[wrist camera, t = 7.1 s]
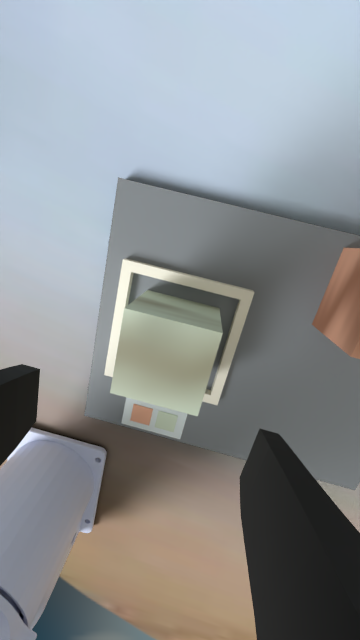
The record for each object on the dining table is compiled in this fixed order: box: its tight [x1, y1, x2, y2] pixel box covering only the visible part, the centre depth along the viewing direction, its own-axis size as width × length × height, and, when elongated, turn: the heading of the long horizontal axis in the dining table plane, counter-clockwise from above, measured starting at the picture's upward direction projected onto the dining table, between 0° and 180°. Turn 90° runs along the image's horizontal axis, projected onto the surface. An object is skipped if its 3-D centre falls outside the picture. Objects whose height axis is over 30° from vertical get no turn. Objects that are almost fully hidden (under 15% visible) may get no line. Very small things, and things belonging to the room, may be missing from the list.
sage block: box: [110, 290, 223, 416], centre depth 14 cm, size 4×4×4 cm
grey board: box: [84, 178, 360, 490], centre depth 16 cm, size 16×20×1 cm
